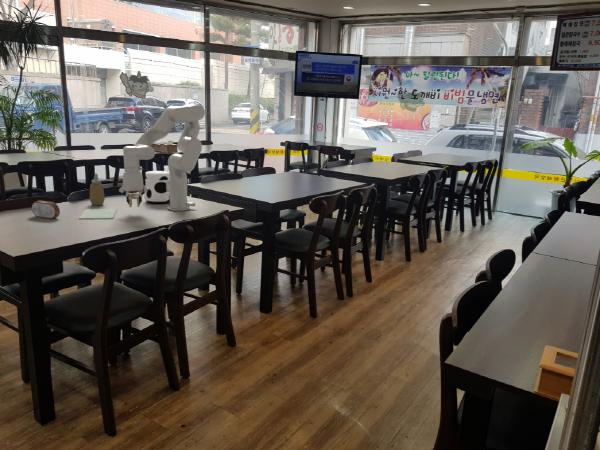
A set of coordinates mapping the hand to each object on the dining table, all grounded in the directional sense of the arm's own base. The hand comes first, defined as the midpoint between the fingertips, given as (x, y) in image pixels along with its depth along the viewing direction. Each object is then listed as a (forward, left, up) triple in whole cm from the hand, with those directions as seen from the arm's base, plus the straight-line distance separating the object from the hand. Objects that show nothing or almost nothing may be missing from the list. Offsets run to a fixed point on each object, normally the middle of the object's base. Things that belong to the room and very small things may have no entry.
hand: (134, 203), depth 259 cm
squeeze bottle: (+22, -25, -6) cm, 33 cm away
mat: (+18, 0, -6) cm, 19 cm away
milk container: (-12, -34, -6) cm, 36 cm away
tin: (+42, +7, -6) cm, 43 cm away
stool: (0, 0, -2) cm, 2 cm away
